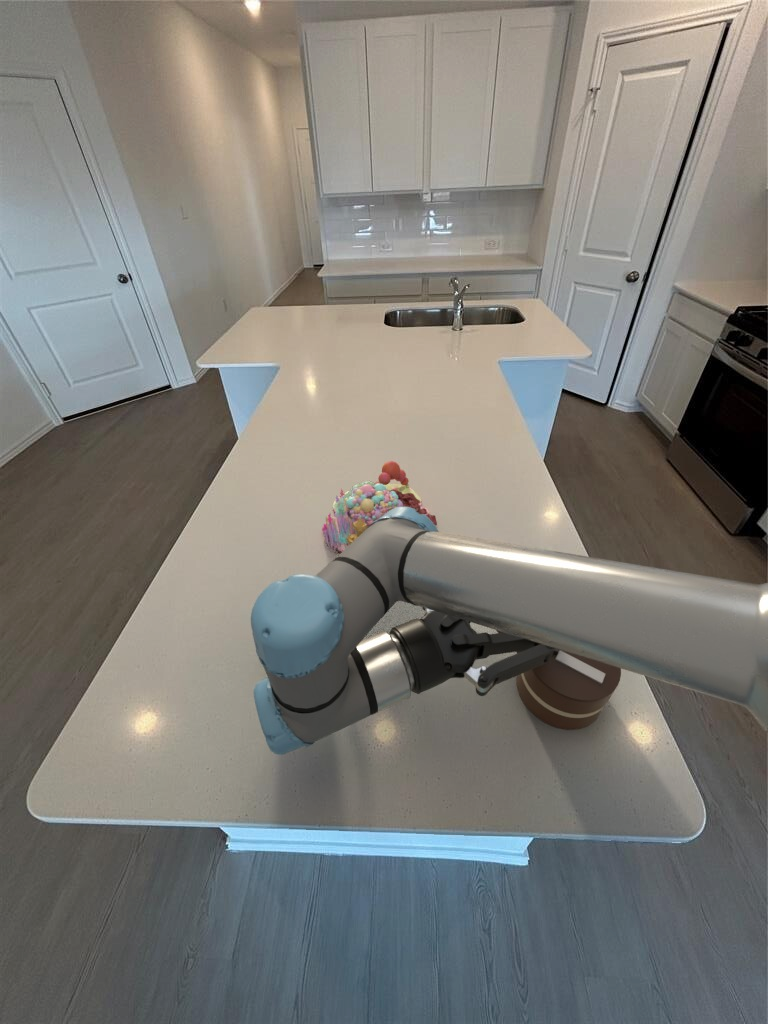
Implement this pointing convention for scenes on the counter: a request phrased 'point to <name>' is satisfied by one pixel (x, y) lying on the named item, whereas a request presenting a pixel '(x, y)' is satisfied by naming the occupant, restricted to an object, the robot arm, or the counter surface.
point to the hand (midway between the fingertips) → (565, 591)
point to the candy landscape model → (370, 506)
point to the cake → (568, 689)
